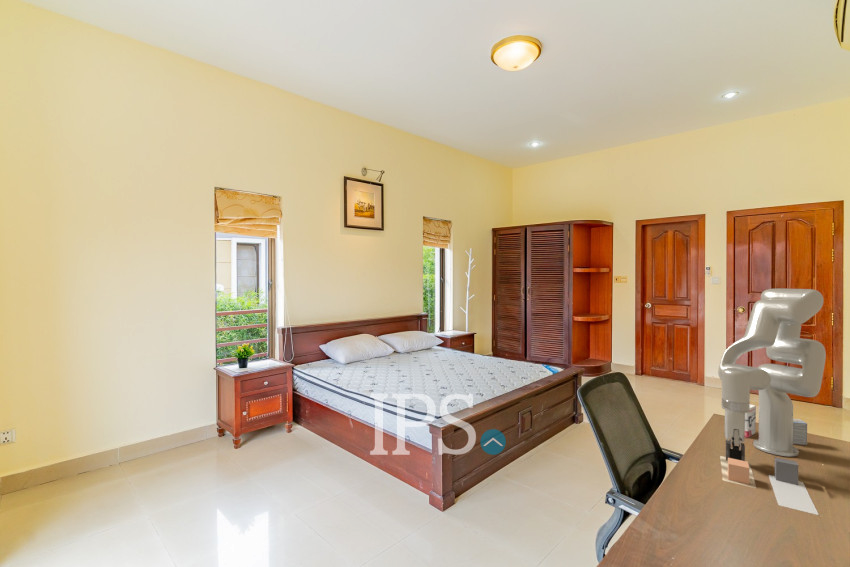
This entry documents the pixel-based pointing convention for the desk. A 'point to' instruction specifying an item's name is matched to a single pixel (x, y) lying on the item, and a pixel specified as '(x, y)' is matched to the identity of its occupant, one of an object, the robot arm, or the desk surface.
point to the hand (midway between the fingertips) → (735, 457)
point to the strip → (790, 487)
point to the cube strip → (725, 466)
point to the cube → (738, 470)
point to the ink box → (750, 422)
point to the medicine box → (799, 432)
